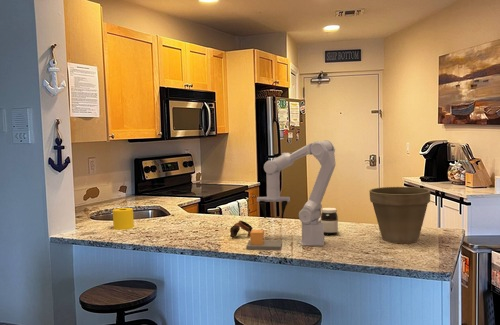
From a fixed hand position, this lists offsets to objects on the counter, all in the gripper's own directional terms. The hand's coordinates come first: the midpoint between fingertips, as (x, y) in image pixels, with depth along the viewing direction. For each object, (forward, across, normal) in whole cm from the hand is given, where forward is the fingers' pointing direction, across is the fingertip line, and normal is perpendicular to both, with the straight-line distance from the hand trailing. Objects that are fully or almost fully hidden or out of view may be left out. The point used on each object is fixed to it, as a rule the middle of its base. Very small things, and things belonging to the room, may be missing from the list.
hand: (273, 217), depth 203 cm
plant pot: (+10, -54, 0) cm, 55 cm away
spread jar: (+10, -23, -11) cm, 27 cm away
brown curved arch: (+10, +16, -3) cm, 19 cm away
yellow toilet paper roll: (+10, +79, -21) cm, 82 cm away
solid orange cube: (+8, +6, +14) cm, 17 cm away
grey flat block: (+9, +3, +14) cm, 17 cm away
